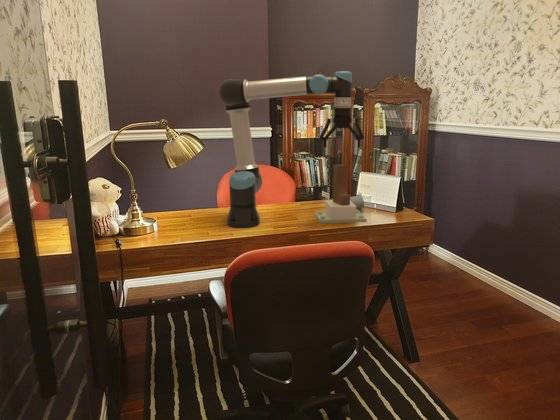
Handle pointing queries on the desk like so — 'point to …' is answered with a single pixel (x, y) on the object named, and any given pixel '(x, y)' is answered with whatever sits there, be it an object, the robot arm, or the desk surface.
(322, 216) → the tower base
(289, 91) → the robot arm
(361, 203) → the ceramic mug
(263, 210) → the desk surface
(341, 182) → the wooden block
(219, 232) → the desk surface
